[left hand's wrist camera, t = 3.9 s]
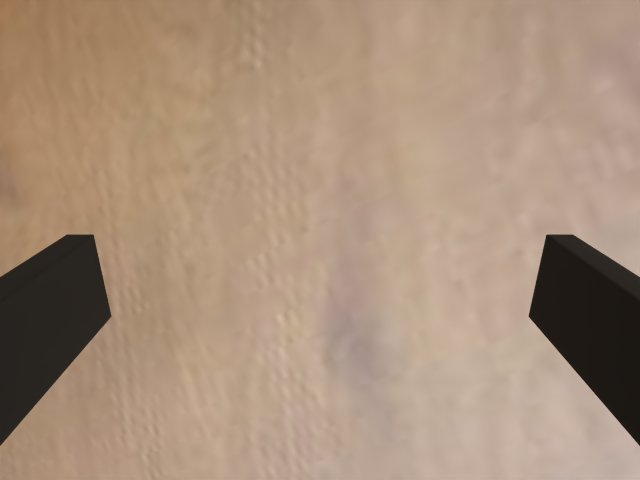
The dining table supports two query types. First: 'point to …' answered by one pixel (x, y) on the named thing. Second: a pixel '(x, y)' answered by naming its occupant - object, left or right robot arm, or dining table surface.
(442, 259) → the dining table surface
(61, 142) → the dining table surface
